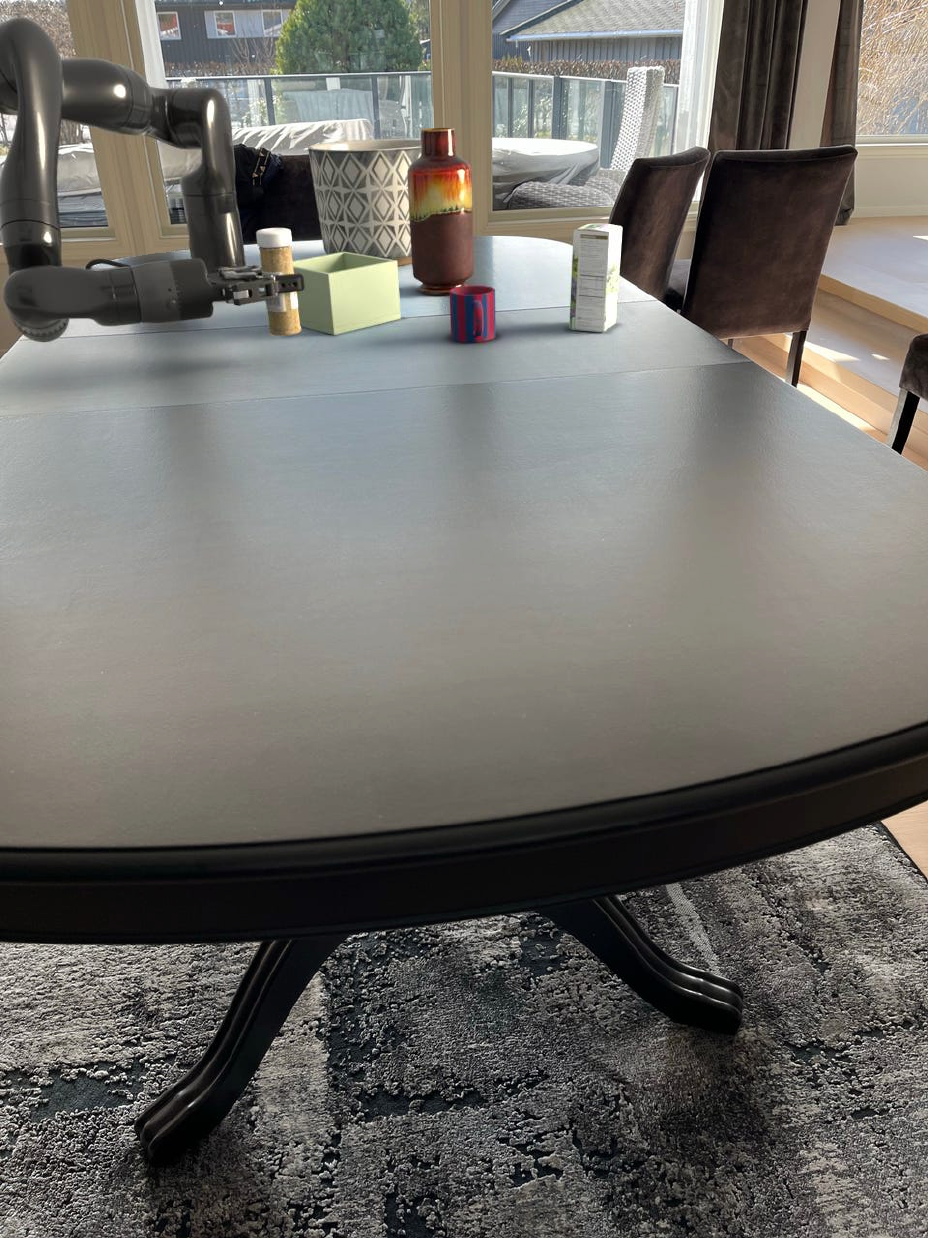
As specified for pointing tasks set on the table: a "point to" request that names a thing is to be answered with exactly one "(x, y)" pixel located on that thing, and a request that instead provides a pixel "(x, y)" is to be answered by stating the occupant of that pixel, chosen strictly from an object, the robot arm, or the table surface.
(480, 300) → the mug
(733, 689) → the table surface
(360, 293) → the open storage bin
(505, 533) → the table surface
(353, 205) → the planter
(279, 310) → the sprinkles bottle
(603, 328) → the syrup box
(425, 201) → the vase
